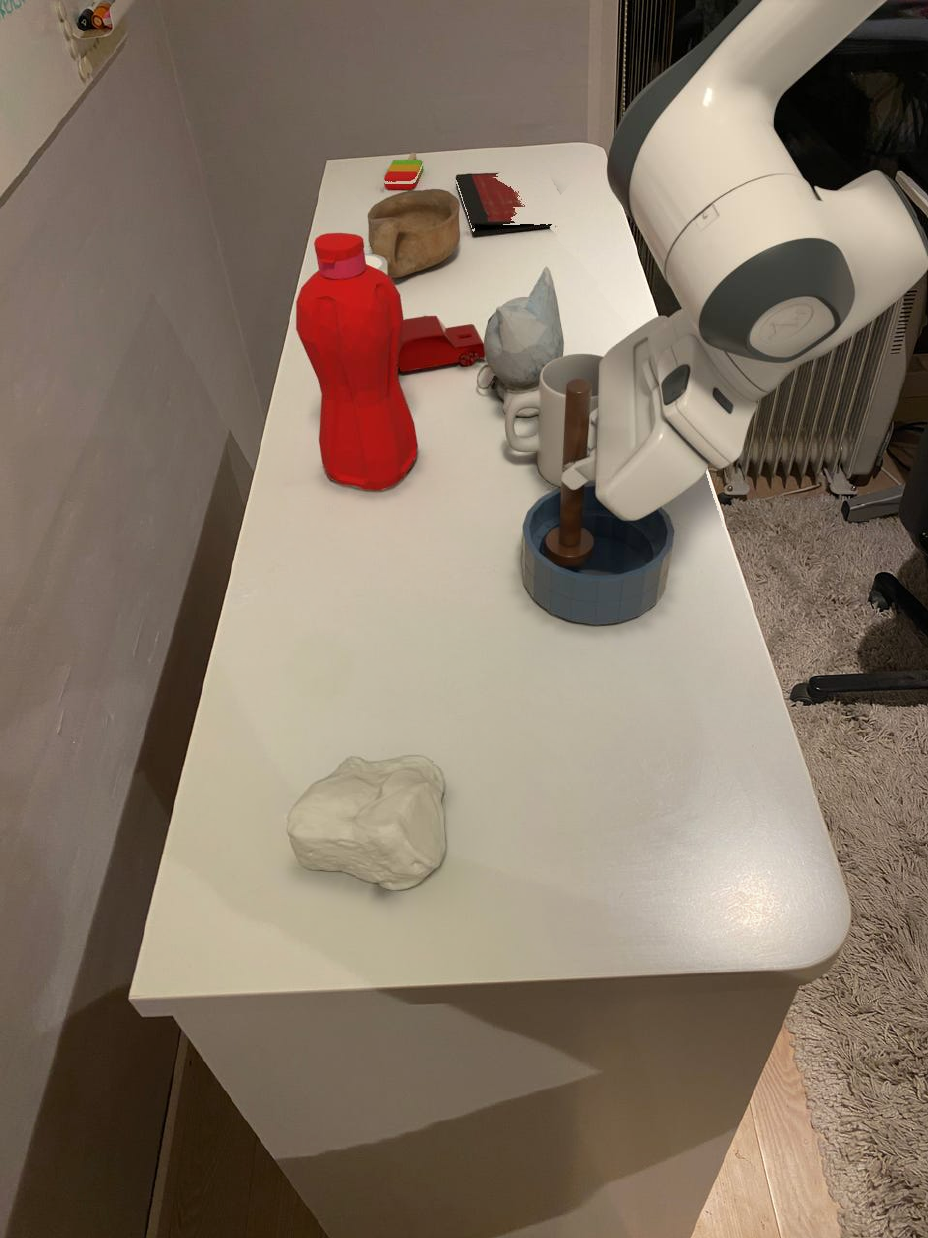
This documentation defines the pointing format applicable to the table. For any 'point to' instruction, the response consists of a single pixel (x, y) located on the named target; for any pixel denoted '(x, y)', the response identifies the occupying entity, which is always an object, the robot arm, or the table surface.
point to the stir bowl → (598, 562)
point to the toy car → (437, 344)
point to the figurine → (523, 342)
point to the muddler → (569, 538)
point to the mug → (552, 411)
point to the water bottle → (356, 365)
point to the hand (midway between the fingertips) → (567, 467)
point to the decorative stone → (373, 821)
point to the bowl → (414, 229)
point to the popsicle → (403, 173)
